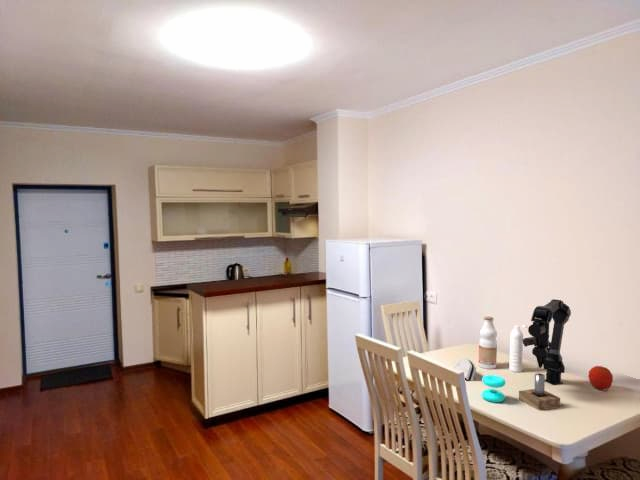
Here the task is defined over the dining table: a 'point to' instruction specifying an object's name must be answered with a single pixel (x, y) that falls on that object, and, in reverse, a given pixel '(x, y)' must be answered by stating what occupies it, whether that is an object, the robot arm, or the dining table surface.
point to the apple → (600, 377)
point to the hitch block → (539, 399)
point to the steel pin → (539, 385)
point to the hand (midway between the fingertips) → (541, 365)
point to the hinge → (466, 368)
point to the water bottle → (516, 349)
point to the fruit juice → (488, 345)
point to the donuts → (491, 393)
